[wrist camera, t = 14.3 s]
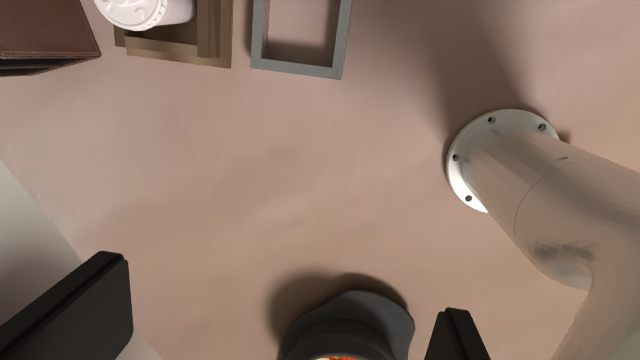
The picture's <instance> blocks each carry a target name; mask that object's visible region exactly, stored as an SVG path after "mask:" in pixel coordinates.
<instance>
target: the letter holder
mask: <svg viewBox="0 0 640 360" xmlns="http://www.w3.org/2000/svg"><path fill="white" fill-rule="evenodd" d="M100 56H101V53H100V50H99V48H98V46H97V43H96V41H95V38H94V36H93V34H92V31H91V29H90V26H89V24H88V21H87V19H86V16H85V14H84V11H83V9H82V6H81V3H80V1H79V0H0V77H7V76H26V75H28V76H32V75H36V74H40V73H44V72H47V71H51V70H55V69H58V68H62V67H66V66H70V65H74V64H77V63H81V62H85V61H88V60H92V59H96V58H99V57H100Z"/></svg>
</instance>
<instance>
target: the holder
mask: <svg viewBox="0 0 640 360" xmlns="http://www.w3.org/2000/svg"><path fill="white" fill-rule="evenodd" d="M352 1H353V0H341V3H340V11H339V18H338V26H337V34H336V42H335V49H334V57H333V65H332V67H327V66H320V65H312V64H305V63H297V62H290V61H282V60H275V59H267V58H266V56H267V40H268V25H269V10H270V0H254V4H253V24H252V44H251V64H250V68H256V69H263V70H270V71H278V72H285V73H293V74H300V75H308V76H315V77H323V78H330V79H337V80H341V79H342V73H343V65H344V58H345V51H346V44H347V37H348V29H349V22H350V15H351V8H352Z"/></svg>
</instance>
